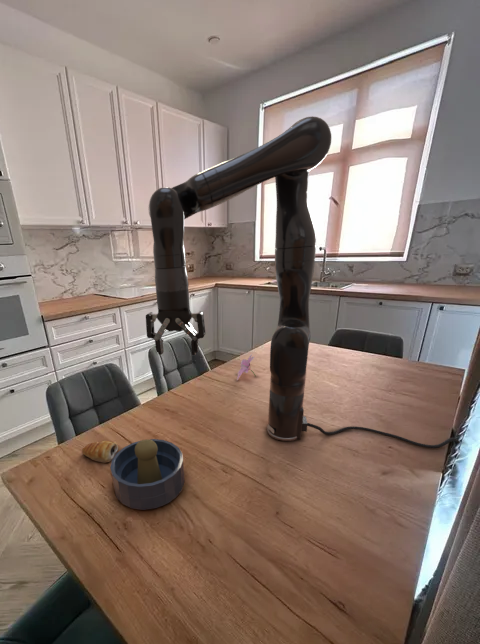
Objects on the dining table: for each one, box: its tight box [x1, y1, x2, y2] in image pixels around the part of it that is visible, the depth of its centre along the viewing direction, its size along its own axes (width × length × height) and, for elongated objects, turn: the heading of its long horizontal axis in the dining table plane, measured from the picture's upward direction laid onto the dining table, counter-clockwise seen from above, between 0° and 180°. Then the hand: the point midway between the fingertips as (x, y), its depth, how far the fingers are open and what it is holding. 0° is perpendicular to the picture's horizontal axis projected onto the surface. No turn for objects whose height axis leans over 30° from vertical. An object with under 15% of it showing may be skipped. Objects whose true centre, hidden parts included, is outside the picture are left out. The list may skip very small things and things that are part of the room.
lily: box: [236, 353, 257, 381], centre depth 128 cm, size 12×12×10 cm
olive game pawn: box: [135, 438, 162, 484], centre depth 73 cm, size 6×6×11 cm
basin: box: [109, 438, 186, 511], centre depth 74 cm, size 17×17×7 cm
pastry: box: [81, 440, 119, 463], centre depth 86 cm, size 9×7×4 cm
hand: (177, 353), depth 78 cm, fingers open, 8 cm apart
